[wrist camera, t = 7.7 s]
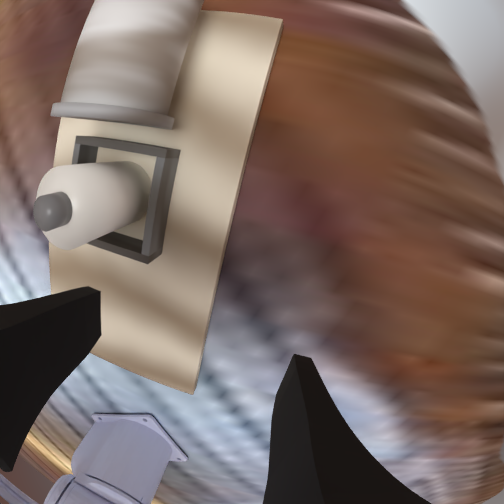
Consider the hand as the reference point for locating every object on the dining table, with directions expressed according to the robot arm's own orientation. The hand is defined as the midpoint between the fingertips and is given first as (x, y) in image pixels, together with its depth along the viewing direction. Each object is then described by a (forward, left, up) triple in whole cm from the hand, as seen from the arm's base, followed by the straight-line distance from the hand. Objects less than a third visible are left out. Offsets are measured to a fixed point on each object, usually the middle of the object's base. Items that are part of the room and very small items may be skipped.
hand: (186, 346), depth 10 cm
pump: (-5, +7, -8) cm, 12 cm away
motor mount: (-6, +5, -9) cm, 12 cm away
